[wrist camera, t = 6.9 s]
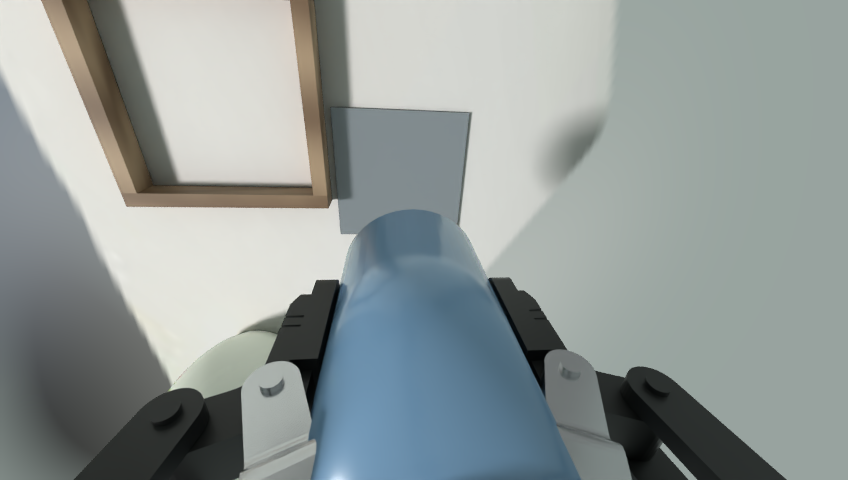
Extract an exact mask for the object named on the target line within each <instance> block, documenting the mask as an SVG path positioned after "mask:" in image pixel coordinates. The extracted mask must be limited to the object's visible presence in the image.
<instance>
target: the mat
mask: <svg viewBox="0 0 848 480" xmlns="http://www.w3.org/2000/svg"><path fill="white" fill-rule="evenodd" d="M330 108H331V120H332V133H333V145H334V157H335V169H336V182H337V194H338V206H339V219H340V231H341V234H358V233H359V232H360V231H361V230H362V229H363V228H364V227H365V226H366V225H368V224H369V223H370V222H372V221H373V220H375V219H377V218H378V217H381V216H383V215H385V214H388V213H391V212H394V211H400V210H409V209H417V210H426V211H431V212H434V213H437V214H440V215H442V216H444V217H446V218H448V219H450V220H451V221H453V222H454V223H456V224H457V223H458V213H459V204H460V195H461V186H462V176H463V167H464V158H465V148H466V139H467V130H468V121H469V113H462V112H439V111H415V110H391V109H368V108H344V107H330Z"/></svg>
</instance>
